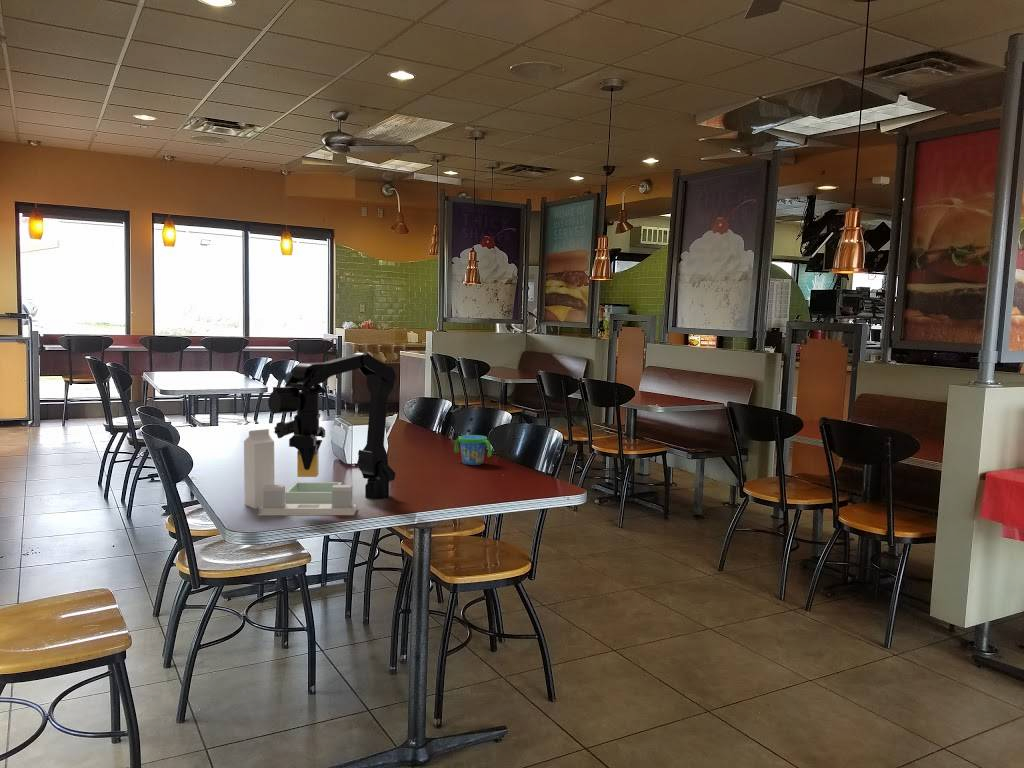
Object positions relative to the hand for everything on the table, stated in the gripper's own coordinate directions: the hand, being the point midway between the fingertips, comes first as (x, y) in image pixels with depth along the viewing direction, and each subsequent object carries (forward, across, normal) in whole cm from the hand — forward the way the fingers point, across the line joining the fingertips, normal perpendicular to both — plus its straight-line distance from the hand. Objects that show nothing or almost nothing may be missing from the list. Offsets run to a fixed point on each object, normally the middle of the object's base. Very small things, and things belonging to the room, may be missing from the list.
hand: (308, 468), depth 203 cm
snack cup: (+13, -76, +46) cm, 89 cm away
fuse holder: (+13, 0, 0) cm, 13 cm away
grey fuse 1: (+12, 0, -9) cm, 15 cm away
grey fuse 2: (+12, 0, +9) cm, 15 cm away
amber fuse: (+2, 0, 0) cm, 2 cm away
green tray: (+13, -14, -1) cm, 19 cm away
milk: (+13, -8, -15) cm, 21 cm away
